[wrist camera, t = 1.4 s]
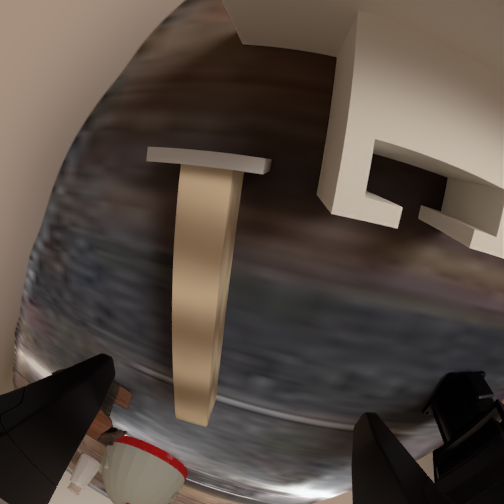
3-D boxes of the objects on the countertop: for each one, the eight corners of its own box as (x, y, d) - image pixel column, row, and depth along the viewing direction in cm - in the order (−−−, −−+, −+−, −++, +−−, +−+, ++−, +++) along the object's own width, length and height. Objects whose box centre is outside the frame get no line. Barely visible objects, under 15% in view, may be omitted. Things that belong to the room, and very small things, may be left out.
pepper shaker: (77, 450, 41) (57, 481, 31) (91, 455, 40) (70, 488, 29) (92, 463, 42) (74, 494, 32) (106, 468, 41) (87, 501, 31)
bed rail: (232, 401, 25) (222, 438, 21) (172, 385, 26) (155, 419, 21) (271, 159, 18) (265, 158, 13) (181, 148, 18) (147, 146, 14)
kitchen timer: (106, 447, 36) (73, 503, 22) (119, 424, 31) (76, 498, 17) (171, 482, 37) (148, 541, 23) (200, 468, 32) (175, 545, 18)
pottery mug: (156, 405, 28) (128, 458, 23) (128, 391, 35) (105, 434, 29) (72, 349, 23) (39, 409, 18) (62, 344, 30) (35, 390, 24)
